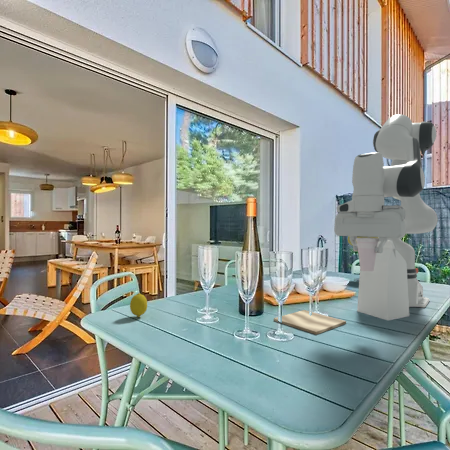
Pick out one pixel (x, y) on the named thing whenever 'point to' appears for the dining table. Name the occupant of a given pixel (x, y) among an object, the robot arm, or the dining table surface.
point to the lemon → (138, 305)
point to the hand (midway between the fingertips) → (367, 252)
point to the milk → (385, 286)
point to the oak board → (311, 321)
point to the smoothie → (367, 252)
